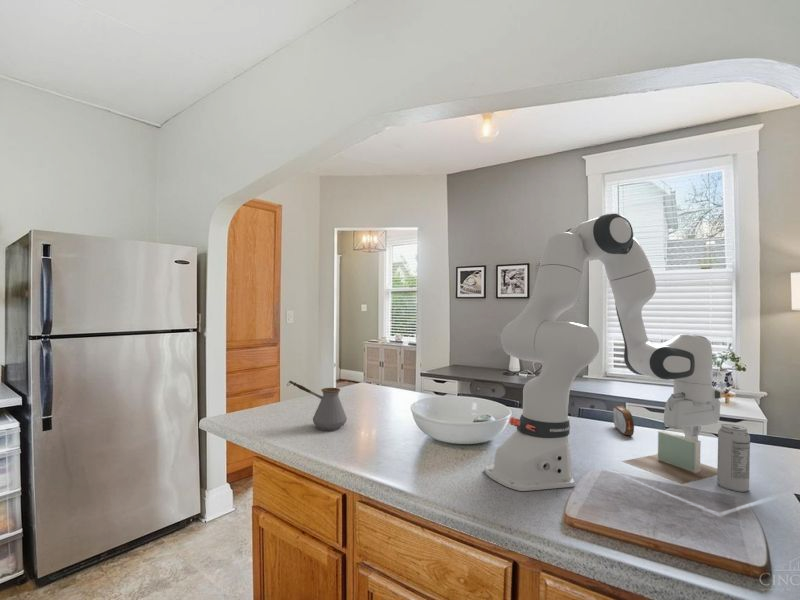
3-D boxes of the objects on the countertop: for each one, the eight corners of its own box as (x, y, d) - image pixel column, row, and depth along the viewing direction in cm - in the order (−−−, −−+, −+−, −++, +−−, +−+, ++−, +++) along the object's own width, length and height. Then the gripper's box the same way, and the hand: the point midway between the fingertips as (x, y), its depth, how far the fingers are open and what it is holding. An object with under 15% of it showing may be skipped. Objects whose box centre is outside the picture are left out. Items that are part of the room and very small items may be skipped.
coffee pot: (350, 424, 146) (351, 381, 146) (341, 433, 135) (342, 387, 135) (292, 419, 149) (294, 377, 150) (278, 428, 138) (280, 383, 138)
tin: (634, 438, 139) (635, 413, 140) (624, 438, 140) (625, 412, 140) (620, 426, 154) (620, 403, 154) (611, 425, 155) (611, 403, 155)
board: (682, 486, 101) (682, 483, 101) (621, 463, 116) (621, 461, 116) (728, 474, 110) (728, 472, 110) (666, 454, 124) (666, 452, 124)
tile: (694, 472, 108) (695, 442, 109) (656, 459, 117) (657, 431, 118) (700, 471, 109) (700, 441, 110) (662, 458, 118) (662, 430, 119)
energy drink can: (734, 484, 103) (735, 423, 103) (756, 495, 97) (757, 430, 97) (710, 484, 103) (712, 423, 103) (730, 494, 97) (732, 430, 97)
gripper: (681, 396, 109) (680, 449, 109) (725, 392, 118) (724, 441, 118) (657, 391, 115) (656, 442, 115) (701, 388, 124) (700, 434, 123)
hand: (691, 441), depth 116 cm, fingers closed
